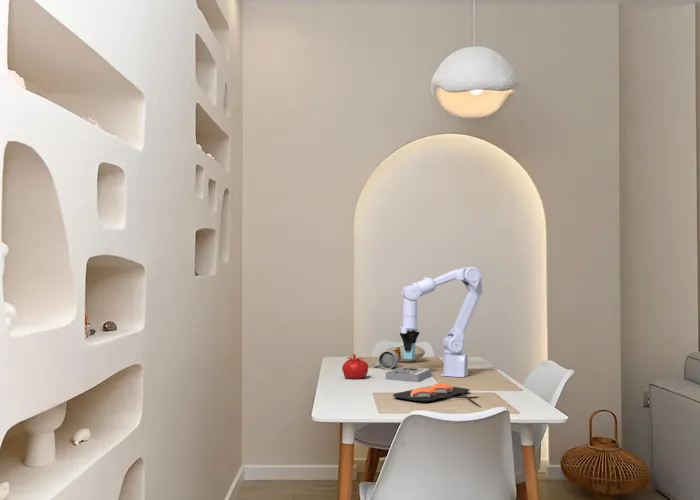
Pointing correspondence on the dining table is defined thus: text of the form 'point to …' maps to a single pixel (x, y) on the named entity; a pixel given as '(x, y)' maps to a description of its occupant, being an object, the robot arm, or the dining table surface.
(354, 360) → the red round piece
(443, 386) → the sushi plate
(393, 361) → the ceramic mug
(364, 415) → the dining table surface
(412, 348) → the plug
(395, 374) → the panel
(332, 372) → the dining table surface
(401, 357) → the nautilus
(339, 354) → the dining table surface
